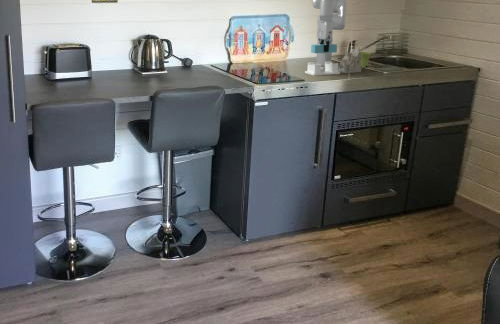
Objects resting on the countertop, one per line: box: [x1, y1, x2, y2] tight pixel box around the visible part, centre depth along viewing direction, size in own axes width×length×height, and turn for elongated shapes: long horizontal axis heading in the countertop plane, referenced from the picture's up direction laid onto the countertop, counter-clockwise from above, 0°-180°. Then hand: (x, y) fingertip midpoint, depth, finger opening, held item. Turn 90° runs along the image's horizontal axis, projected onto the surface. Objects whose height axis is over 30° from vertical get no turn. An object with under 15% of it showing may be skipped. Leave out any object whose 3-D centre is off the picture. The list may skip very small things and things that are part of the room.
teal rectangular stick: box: [310, 43, 338, 54], centre depth 334 cm, size 4×15×4 cm, turn 116°
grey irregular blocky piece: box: [338, 46, 362, 74], centre depth 348 cm, size 16×16×15 cm
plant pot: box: [360, 51, 372, 68], centre depth 364 cm, size 9×9×9 cm
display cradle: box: [304, 60, 341, 76], centre depth 338 cm, size 10×18×6 cm, turn 116°
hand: (323, 50), depth 334 cm, fingers closed on teal rectangular stick, 4 cm apart
